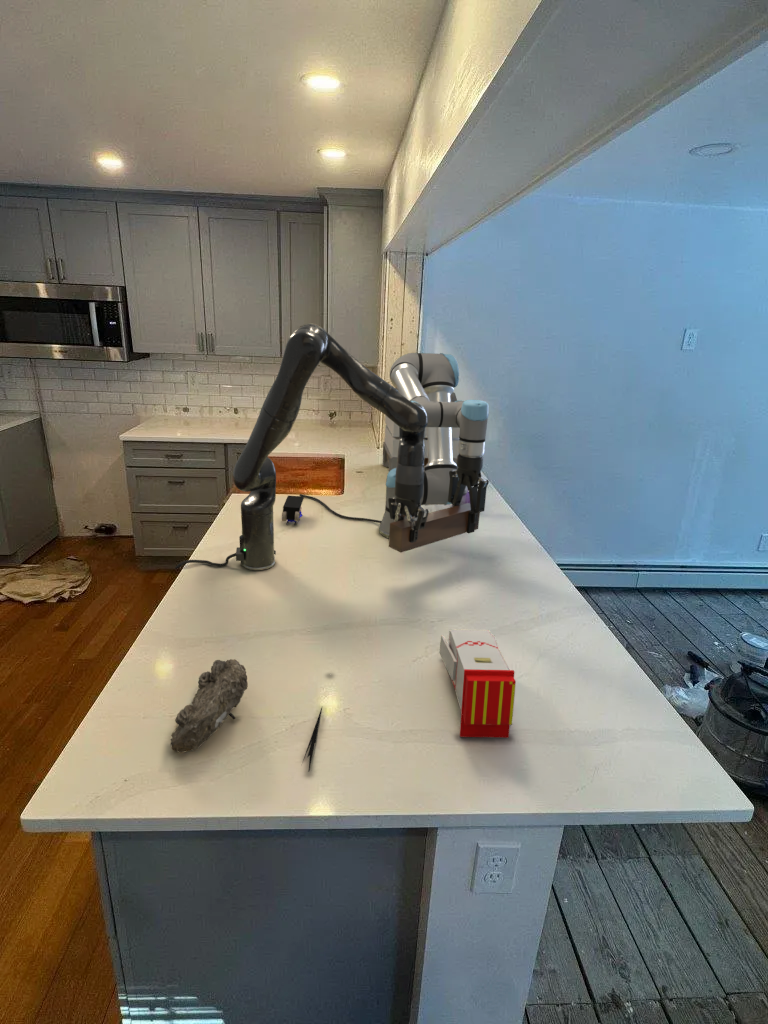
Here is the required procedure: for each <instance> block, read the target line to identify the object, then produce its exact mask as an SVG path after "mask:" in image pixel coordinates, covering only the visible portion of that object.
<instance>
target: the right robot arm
mask: <svg viewBox="0 0 768 1024" xmlns="http://www.w3.org/2000/svg"><path fill="white" fill-rule="evenodd" d="M458 363H459V362H458V361H457V359H456V357H455V356H454V355H452V354H449V353H443V352H440V353H434V352H433V353H432V352H431V353H430V352H429V353H427V352H409V353H405V354H403V355H401V356H400V357H398V358H396V359H395V360H394V362H393V363H392V364H391V367H390V369H389V379H390V380H389V381H390V382H391V384H392V386H393V387H394V388H397V389H398V391H399V393H400V394H401V395H402V396H404V397H405V398H407V399H408V400H409V401H411V402H415V403H418V404H420V405H422V406H423V408H424V409H425V411H426V414H427V417H428V422H427V426H426V427H427V438H428V464H427V465H426V466H424V483H423V496H422V498H421V500H420V504H421V506H436V505H437V506H441V505H443V506H447V505H453V507H454V506H458V505H460V504H462V503H461V500H462V497H463V494H464V491H465V488H466V486H467V488H468V490H469V497H470V507H471V511H470V512H469V514H468V524H467V532H466V534H471V533H474V532H475V531H476V530H475V523H477V519H478V513H480V514H481V513H483V512H485V507H486V499H487V488H488V486H489V483H490V482H489V479H484V478H483V477H482V469H483V466H484V456H483V455H485V448H486V437H487V428H488V420H489V416H490V414H489V413H490V412H489V403H488V402H487V401H485V400H480V399H465V400H462V399H459V400H458V399H457V401H455V402H450V395H451V394H452V393H453V392H454V393H455V388H456V387H458V386H459V382H460V367H459V364H458ZM451 427H455V428H460V434H459V446H458V453H459V454H458V456H457V465H456V464H455V463H454V462H453V453H452V430H451ZM395 479H396V468H394V469H392V470H390V471H389V470H388V473H387V475H386V480H385V481H386V482H385V504H384V505H385V507H384V508H385V509H384V513H383V515H382V519H381V520H379V519H373V518H366V517H357V516H356V517H355V516H348V515H343V514H340V513H338V512H336V511H335V510H333V509H331V508H330V507H329V506H328V505H327V504H326V503H324V501H322V500H320V499H318V498H316V497H314V496H310V495H307V494H301V493H299V496H302V497H304V498H307V499H310V500H314V501H316V502H318V503H320V504H321V505H322V506H323V507H325V509H326V510H327V511H329V512H330V513H332V514H334V515H335V516H337V517H339V518H342V519H346V520H353V521H365V522H371V523H377V524H379V525H378V533H379V534H380V535H381V536H382V537H385V538H387V539H389V532H390V523H392V522H394V520H393V519H391V518H390V511H389V502H388V499H389V498H392V497H396V496H395ZM394 514H395V510H394ZM413 517H415V516H413ZM411 518H412V517H411ZM404 519H407V517H406V516H405V518H404Z"/></svg>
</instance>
